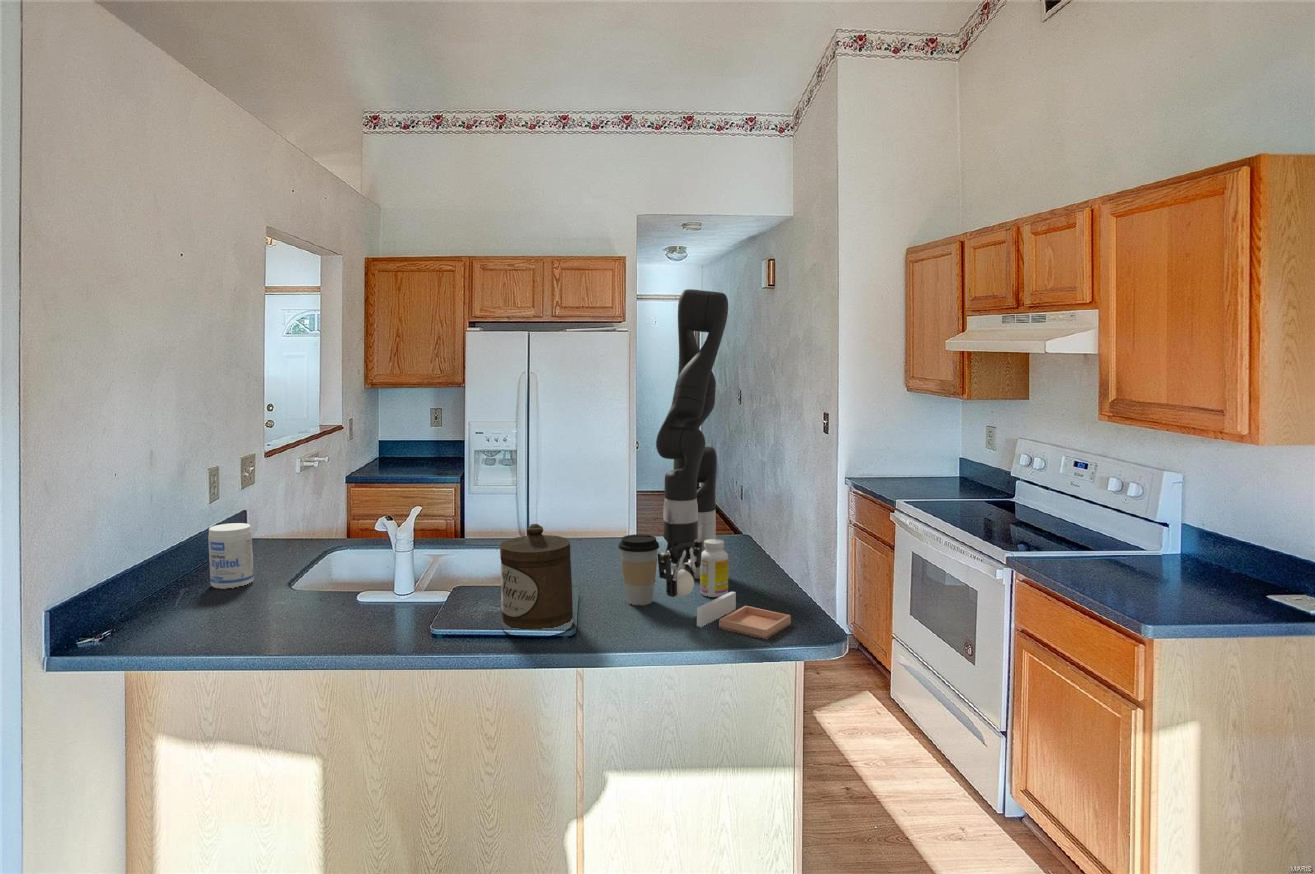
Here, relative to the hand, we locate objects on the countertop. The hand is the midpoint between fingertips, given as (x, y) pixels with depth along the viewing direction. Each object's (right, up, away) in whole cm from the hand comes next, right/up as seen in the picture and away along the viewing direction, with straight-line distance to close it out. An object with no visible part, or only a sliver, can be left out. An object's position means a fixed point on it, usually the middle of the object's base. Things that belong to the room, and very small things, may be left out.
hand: (680, 591), depth 180 cm
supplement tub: (-111, -3, +23) cm, 113 cm away
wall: (+8, -5, -3) cm, 10 cm away
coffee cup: (-9, -4, +8) cm, 13 cm away
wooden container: (-30, -6, -8) cm, 32 cm away
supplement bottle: (+8, -3, +14) cm, 17 cm away
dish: (+15, -6, -8) cm, 19 cm away
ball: (0, -1, 0) cm, 1 cm away
